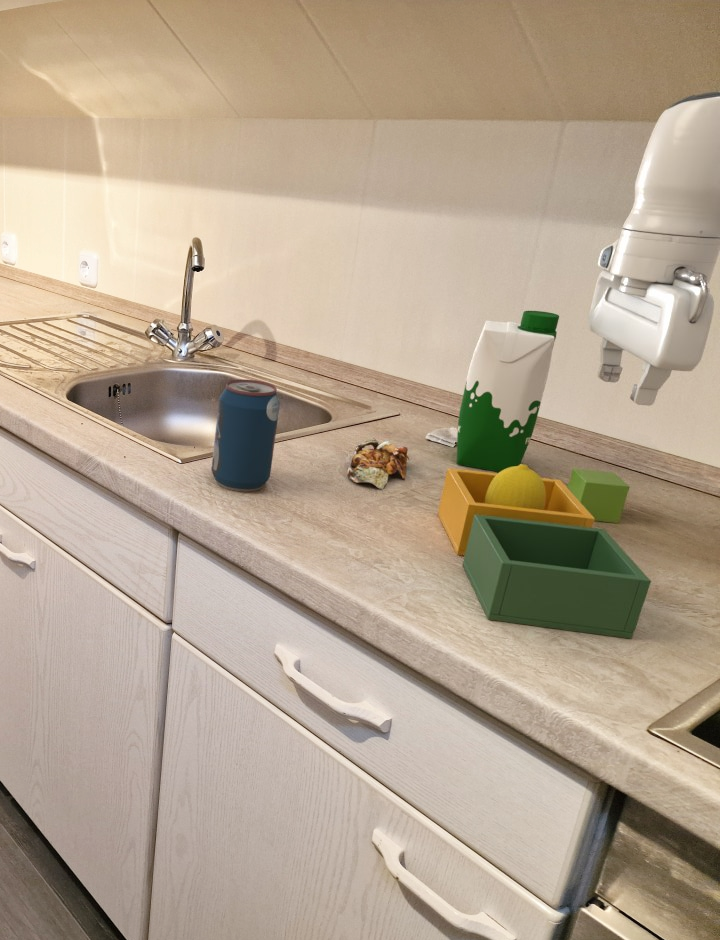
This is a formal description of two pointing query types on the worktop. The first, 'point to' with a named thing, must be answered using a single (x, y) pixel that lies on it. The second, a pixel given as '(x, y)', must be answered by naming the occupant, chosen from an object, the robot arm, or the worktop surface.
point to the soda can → (245, 435)
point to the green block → (599, 493)
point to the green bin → (554, 576)
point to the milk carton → (505, 391)
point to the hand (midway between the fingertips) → (623, 391)
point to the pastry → (377, 462)
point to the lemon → (517, 488)
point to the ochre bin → (468, 499)
